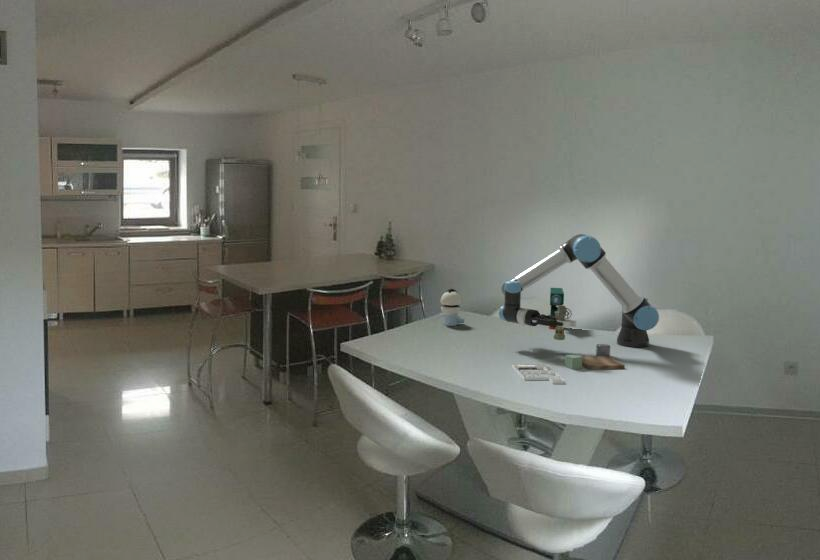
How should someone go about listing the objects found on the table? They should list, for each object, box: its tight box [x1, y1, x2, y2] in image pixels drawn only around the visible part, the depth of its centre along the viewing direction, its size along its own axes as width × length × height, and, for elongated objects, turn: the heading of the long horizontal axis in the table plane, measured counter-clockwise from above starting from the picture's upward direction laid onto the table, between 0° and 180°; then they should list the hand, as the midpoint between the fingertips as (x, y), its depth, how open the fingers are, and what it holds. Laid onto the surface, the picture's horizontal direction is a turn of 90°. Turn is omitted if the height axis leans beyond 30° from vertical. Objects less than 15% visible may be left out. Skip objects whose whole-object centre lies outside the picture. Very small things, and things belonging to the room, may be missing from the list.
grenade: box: [553, 305, 573, 341], centre depth 301 cm, size 7×7×15 cm
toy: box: [439, 288, 465, 327], centre depth 375 cm, size 16×13×20 cm
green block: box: [564, 353, 583, 370], centre depth 288 cm, size 5×5×5 cm
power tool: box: [548, 287, 565, 330], centre depth 369 cm, size 32×7×20 cm, turn 168°
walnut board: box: [581, 355, 625, 371], centre depth 294 cm, size 16×16×2 cm
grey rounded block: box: [595, 343, 611, 357], centre depth 309 cm, size 6×6×5 cm
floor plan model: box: [511, 363, 566, 385], centre depth 276 cm, size 15×25×2 cm, turn 5°
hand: (572, 324), depth 297 cm, fingers closed on grenade, 4 cm apart
